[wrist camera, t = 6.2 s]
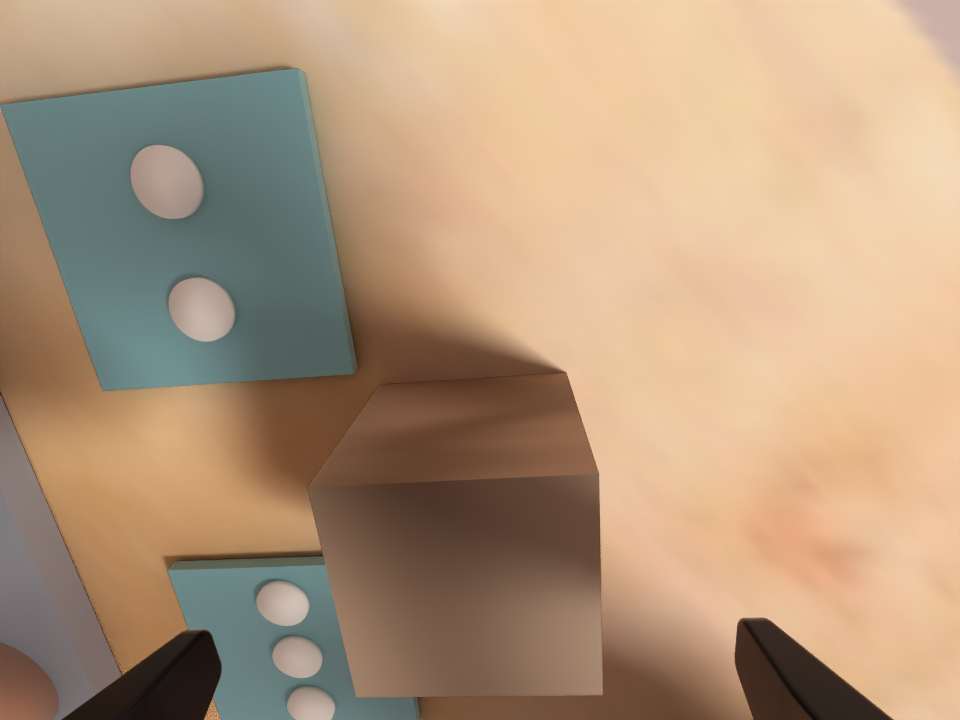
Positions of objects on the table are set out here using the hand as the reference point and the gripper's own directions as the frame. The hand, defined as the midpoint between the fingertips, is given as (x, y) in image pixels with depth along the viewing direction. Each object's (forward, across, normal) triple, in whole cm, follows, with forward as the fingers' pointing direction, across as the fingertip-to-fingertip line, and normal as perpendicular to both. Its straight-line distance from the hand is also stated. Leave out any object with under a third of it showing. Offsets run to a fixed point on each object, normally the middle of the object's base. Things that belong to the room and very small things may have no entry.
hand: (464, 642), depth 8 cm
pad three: (+6, +7, +6) cm, 11 cm away
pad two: (+6, +7, -7) cm, 11 cm away
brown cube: (+6, 0, 0) cm, 6 cm away
